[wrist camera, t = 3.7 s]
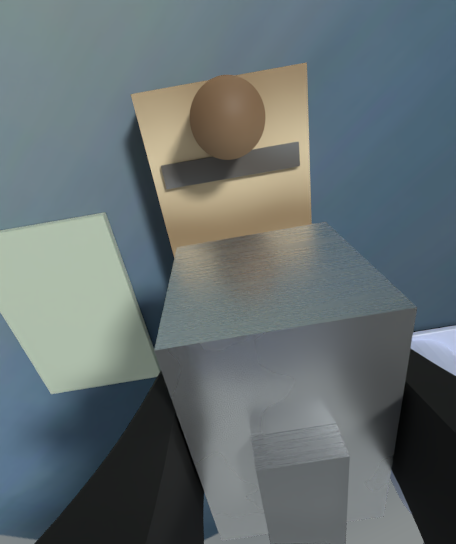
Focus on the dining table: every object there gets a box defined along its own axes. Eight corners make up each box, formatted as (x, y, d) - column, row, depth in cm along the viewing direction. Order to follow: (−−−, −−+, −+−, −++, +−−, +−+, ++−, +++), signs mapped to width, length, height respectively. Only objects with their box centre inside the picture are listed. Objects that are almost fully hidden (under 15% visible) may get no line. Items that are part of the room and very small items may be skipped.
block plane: (303, 313, 21) (329, 369, 16) (201, 330, 21) (199, 390, 17) (291, 70, 14) (329, 52, 10) (142, 96, 14) (114, 90, 10)
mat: (161, 370, 22) (161, 376, 22) (54, 388, 23) (51, 394, 22) (105, 212, 17) (102, 215, 16) (-38, 237, 17) (-44, 240, 16)
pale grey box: (327, 386, 12) (398, 548, 8) (216, 404, 13) (222, 574, 8) (325, 221, 9) (445, 334, 5) (176, 247, 9) (147, 382, 5)
